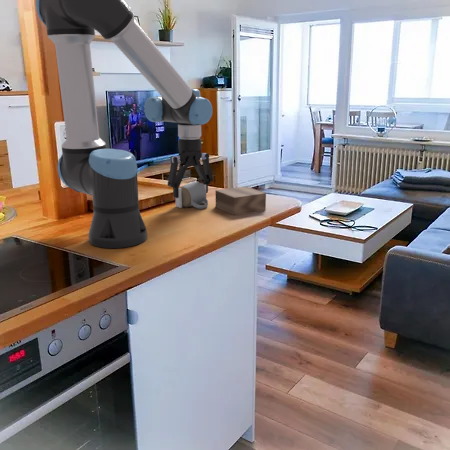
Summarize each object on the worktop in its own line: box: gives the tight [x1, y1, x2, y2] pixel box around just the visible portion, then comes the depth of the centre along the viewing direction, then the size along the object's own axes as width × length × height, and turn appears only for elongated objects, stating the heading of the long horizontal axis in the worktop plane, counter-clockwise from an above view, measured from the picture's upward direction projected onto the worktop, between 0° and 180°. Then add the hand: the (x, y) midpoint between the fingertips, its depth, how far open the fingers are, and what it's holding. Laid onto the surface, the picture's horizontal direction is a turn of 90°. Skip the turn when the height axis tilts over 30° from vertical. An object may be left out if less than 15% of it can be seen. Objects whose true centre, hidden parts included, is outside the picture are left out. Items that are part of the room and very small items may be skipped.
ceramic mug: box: [179, 181, 209, 210], centre depth 160 cm, size 11×8×8 cm
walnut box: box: [215, 185, 267, 216], centre depth 158 cm, size 12×12×6 cm
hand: (191, 204), depth 162 cm, fingers open, 9 cm apart
